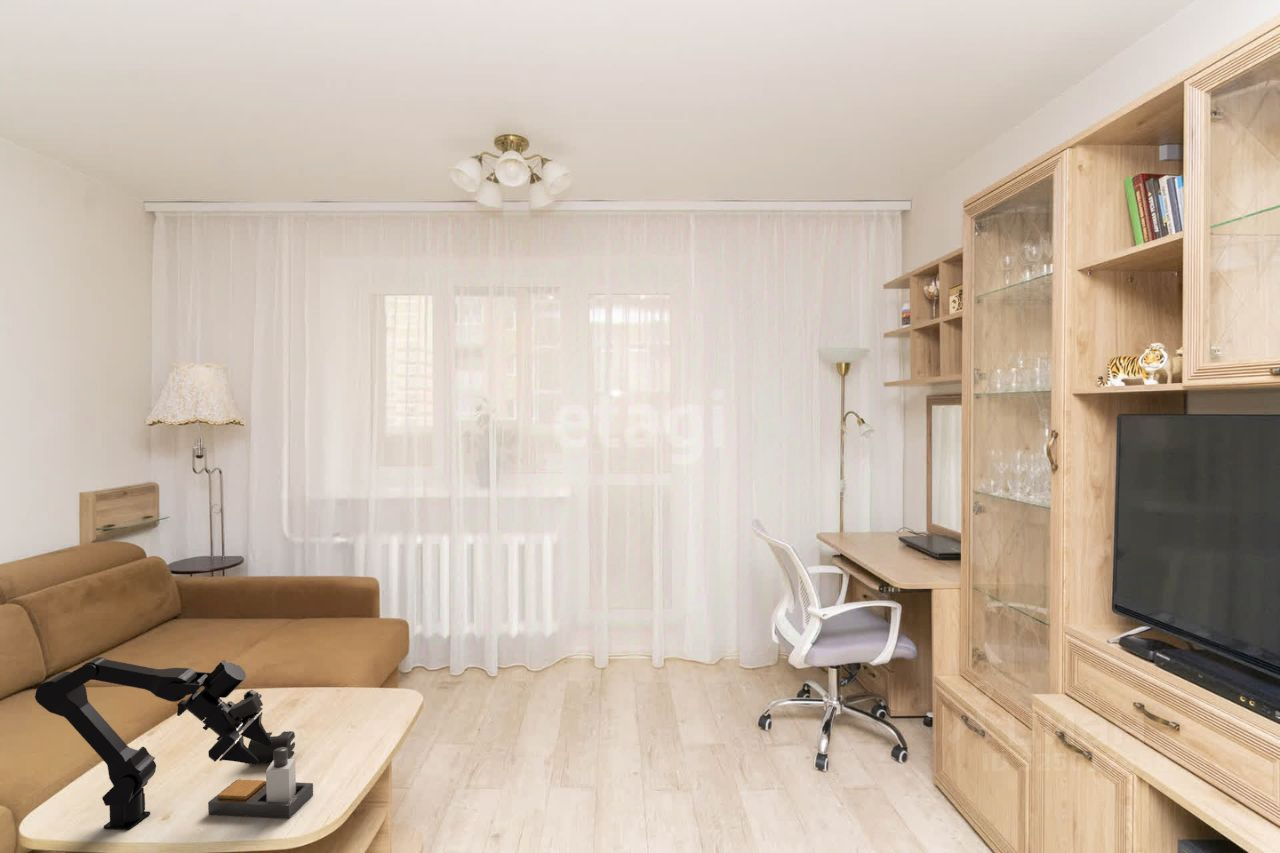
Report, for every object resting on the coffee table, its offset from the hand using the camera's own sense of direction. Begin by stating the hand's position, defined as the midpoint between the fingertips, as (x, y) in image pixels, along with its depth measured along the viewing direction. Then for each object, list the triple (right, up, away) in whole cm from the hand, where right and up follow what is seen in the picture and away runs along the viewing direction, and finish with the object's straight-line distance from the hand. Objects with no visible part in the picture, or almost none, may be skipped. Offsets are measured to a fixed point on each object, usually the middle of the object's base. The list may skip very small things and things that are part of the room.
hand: (264, 753), depth 168 cm
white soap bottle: (+4, -12, +1) cm, 13 cm away
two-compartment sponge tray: (-1, -13, +1) cm, 13 cm away
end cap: (-10, -13, +23) cm, 29 cm away
